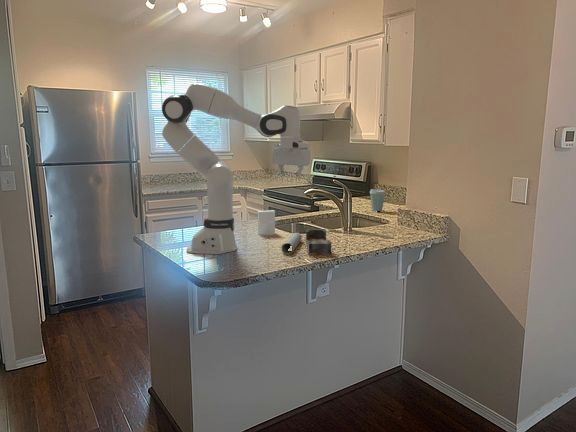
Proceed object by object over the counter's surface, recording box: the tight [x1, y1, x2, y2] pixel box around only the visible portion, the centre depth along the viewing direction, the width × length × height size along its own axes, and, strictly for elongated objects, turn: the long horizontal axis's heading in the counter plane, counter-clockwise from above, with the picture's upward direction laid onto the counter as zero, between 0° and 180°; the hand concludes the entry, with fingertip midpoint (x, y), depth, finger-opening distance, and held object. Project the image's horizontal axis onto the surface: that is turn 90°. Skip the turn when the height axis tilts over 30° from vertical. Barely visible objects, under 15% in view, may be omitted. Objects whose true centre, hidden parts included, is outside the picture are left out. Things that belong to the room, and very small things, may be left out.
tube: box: [281, 232, 302, 255], centre depth 199 cm, size 5×5×25 cm
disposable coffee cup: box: [369, 188, 386, 212], centre depth 291 cm, size 11×11×15 cm
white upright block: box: [257, 209, 276, 236], centre depth 226 cm, size 9×9×12 cm
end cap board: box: [305, 228, 333, 256], centre depth 199 cm, size 10×29×5 cm, turn 0°
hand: (290, 175), depth 191 cm, fingers open, 8 cm apart
